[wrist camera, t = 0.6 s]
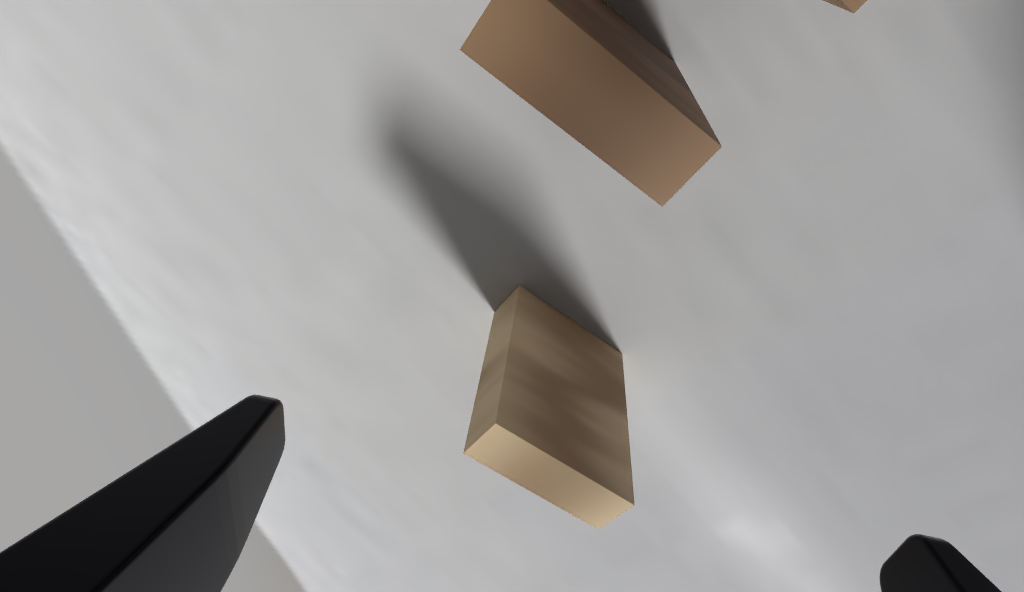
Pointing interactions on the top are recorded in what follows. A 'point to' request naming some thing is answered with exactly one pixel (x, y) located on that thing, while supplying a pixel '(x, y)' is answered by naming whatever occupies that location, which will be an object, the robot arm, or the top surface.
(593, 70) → the domino
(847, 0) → the domino
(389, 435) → the top surface
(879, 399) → the top surface
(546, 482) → the oak domino
